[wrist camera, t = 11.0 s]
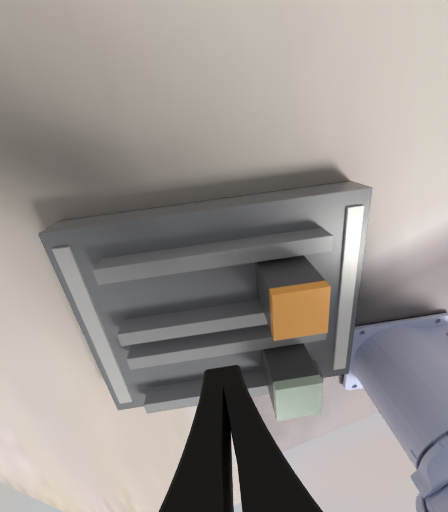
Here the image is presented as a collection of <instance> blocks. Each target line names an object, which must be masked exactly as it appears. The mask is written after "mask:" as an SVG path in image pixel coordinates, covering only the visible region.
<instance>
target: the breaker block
mask: <svg viewBox="0 0 448 512" xmlns="http://www.w3.org/2000/svg"><path fill="white" fill-rule="evenodd" d="M371 194H372V187H369V186H365V185H362V184H359V183H356V182H352V181H347V182H340V183H332V184H325V185H318V186H311V187H303V188H296V189H289V190H281V191H274V192H267V193H260V194H252V195H245V196H238V197H230V198H223V199H216V200H209V201H201V202H194V203H187V204H179V205H172V206H165V207H158V208H150V209H143V210H136V211H128V212H121V213H114V214H107V215H99V216H92V217H85V218H78V219H70V220H63V221H58V222H57V223H55V224H53V225H52V226H50V227H49V228H47V229H45V230H44V231H42V232H40V233H39V234H38V235H39V237H40V239H41V241H42V243H43V246H44V248H45V250H46V252H47V254H48V257H49V259H50V261H51V263H52V265H53V268H54V270H55V272H56V274H57V276H58V279H59V281H60V283H61V285H62V287H63V290H64V292H65V294H66V296H67V299H68V301H69V303H70V305H71V307H72V310H73V312H74V314H75V316H76V318H77V321H78V323H79V325H80V327H81V329H82V332H83V334H84V336H85V338H86V340H87V343H88V345H89V347H90V349H91V352H92V354H93V356H94V358H95V360H96V363H97V365H98V367H99V369H100V371H101V374H102V376H103V378H104V380H105V382H106V385H107V387H108V389H109V391H110V393H111V396H112V398H113V400H114V402H115V405H116V407H117V409H118V410H123V409H129V408H135V407H142V406H144V407H145V409H146V412H147V413H153V412H159V411H166V410H172V409H178V408H185V407H191V406H197V405H198V402H199V398H200V394H201V389H202V384H203V378H204V372H205V371H206V370H207V369H213V368H219V367H226V366H232V365H238V366H240V369H241V373H242V376H243V379H244V382H245V384H246V387H247V389H248V391H249V394H250V396H251V397H254V396H260V395H266V394H270V398H271V401H272V405H273V409H274V412H275V416H276V420H277V421H280V420H286V419H293V418H299V417H305V416H311V415H317V414H321V410H322V395H323V378H325V377H331V376H338V375H344V374H349V369H350V361H351V353H352V345H353V337H354V329H355V321H356V313H357V305H358V297H359V289H360V281H361V274H362V266H363V258H364V250H365V242H366V234H367V226H368V218H369V210H370V202H371ZM301 255H304V256H305V257H306V258H307V260H308V261H309V262H310V263H311V264H312V265H313V266H314V268H315V269H316V270H317V271H318V272H319V273H320V275H321V276H322V277H323V278H324V279H325V280H326V281H327V283H328V284H329V285H330V286H331V293H330V307H329V321H328V333H322V334H316V335H309V336H303V337H296V338H290V339H283V340H277V341H274V340H273V337H272V334H271V331H270V328H269V326H268V323H267V320H266V317H265V315H264V312H263V309H262V306H261V304H260V301H259V298H258V293H257V279H256V266H255V262H260V261H267V260H274V259H281V258H288V257H294V256H301Z"/></svg>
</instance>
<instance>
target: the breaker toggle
mask: <svg viewBox="0 0 448 512" xmlns="http://www.w3.org/2000/svg"><path fill="white" fill-rule="evenodd" d="M255 266H256V279H257V293H258V298H259V301H260V304H261V306H262V309H263V312H264V315H265V317H266V320H267V323H268V326H269V328H270V331H271V334H272V337H273V340H274V341H277V340H283V339H290V338H296V337H303V336H309V335H316V334H322V333H328V321H329V307H330V293H331V286H330V285H329V284H328V283H327V281H326V280H325V279H324V278H323V277H322V276H321V275H320V273H319V272H318V271H317V270H316V269H315V268H314V266H313V265H312V264H311V263H310V262H309V261H308V260H307V258H306V257H305V256H304V255H301V256H294V257H288V258H281V259H274V260H267V261H260V262H255Z"/></svg>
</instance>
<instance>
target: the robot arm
mask: <svg viewBox="0 0 448 512" xmlns="http://www.w3.org/2000/svg"><path fill="white" fill-rule="evenodd" d="M343 387H344V388H345V389H346V390H353V389H360V388H364V389H365V391H366V392H367V394H368V395H369V397H370V398H371V400H372V402H373V403H374V405H375V406H376V408H377V409H378V411H379V412H380V414H381V415H382V417H383V418H384V420H385V422H386V423H387V424H388V426H389V428H390V429H391V431H392V432H393V434H394V435H395V437H396V438H397V440H398V441H399V443H400V445H401V446H402V448H403V449H404V451H405V452H406V454H407V455H408V457H409V458H410V460H411V462H412V463H413V465H414V466H415V468H416V469H417V471H416V472H414V473H413V474H412V475H411V476H410V477H411V479H412V481H413V482H414V484H415V485H416V487H417V489H418V490H419V492H420V493H419V494H418V496H417V498H416V510H417V512H448V313H442V314H436V315H429V316H423V317H416V318H410V319H403V320H397V321H390V322H384V323H377V324H371V325H364V326H358V327H355V329H354V337H353V345H352V353H351V361H350V369H349V374H344V381H343ZM231 433H232V439H233V444H234V449H235V454H236V459H237V465H238V474H239V483H240V493H241V502H242V511H243V512H323V511H322V510H321V509H320V507H319V506H318V505H317V503H316V502H315V501H314V499H313V498H312V497H311V495H310V494H309V493H308V491H307V490H306V488H305V487H304V485H303V484H302V482H301V481H300V479H299V478H298V477H297V475H296V474H295V472H294V471H293V469H292V468H291V466H290V465H289V463H288V462H287V460H286V459H285V457H284V455H283V454H282V452H281V451H280V449H279V447H278V446H277V444H276V442H275V441H274V439H273V437H272V436H271V434H270V432H269V431H268V429H267V427H266V425H265V423H264V422H263V420H262V418H261V416H260V414H259V412H258V410H257V408H256V406H255V404H254V402H253V400H252V398H251V396H250V394H249V391H248V389H247V387H246V384H245V382H244V379H243V376H242V373H241V369H240V366H238V365H232V366H226V367H219V368H213V369H207V370H206V371H205V372H204V378H203V384H202V389H201V394H200V398H199V402H198V406H197V410H196V413H195V417H194V420H193V424H192V427H191V430H190V433H189V436H188V439H187V442H186V445H185V448H184V451H183V454H182V457H181V459H180V462H179V465H178V467H177V470H176V472H175V475H174V477H173V480H172V482H171V485H170V487H169V490H168V492H167V494H166V497H165V499H164V501H163V503H162V506H161V508H160V510H159V512H234V508H233V482H232V451H231Z"/></svg>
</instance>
